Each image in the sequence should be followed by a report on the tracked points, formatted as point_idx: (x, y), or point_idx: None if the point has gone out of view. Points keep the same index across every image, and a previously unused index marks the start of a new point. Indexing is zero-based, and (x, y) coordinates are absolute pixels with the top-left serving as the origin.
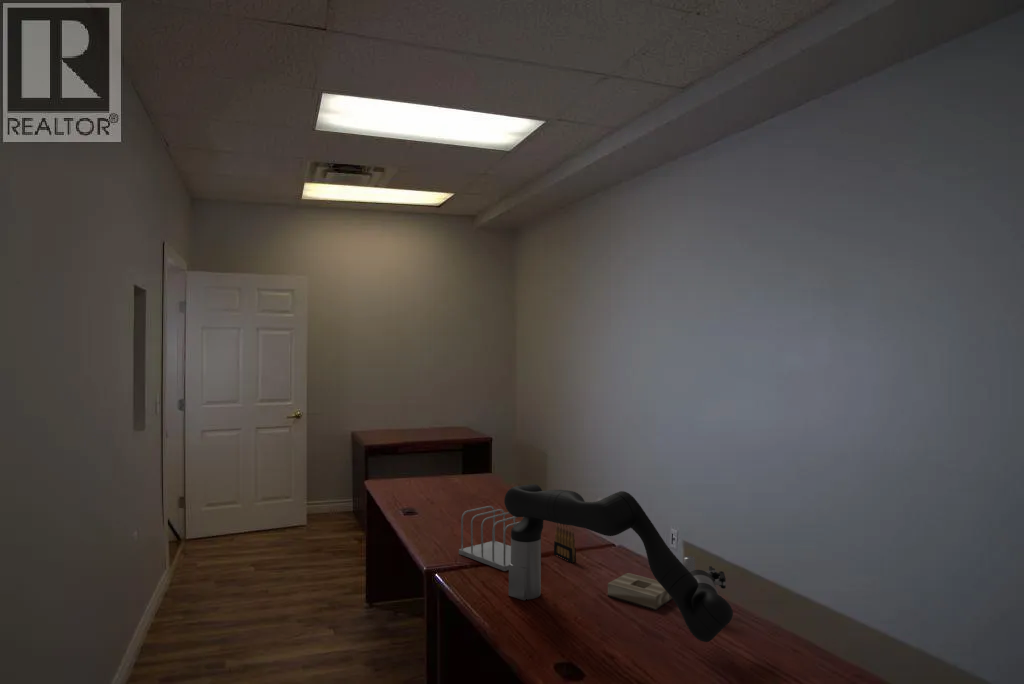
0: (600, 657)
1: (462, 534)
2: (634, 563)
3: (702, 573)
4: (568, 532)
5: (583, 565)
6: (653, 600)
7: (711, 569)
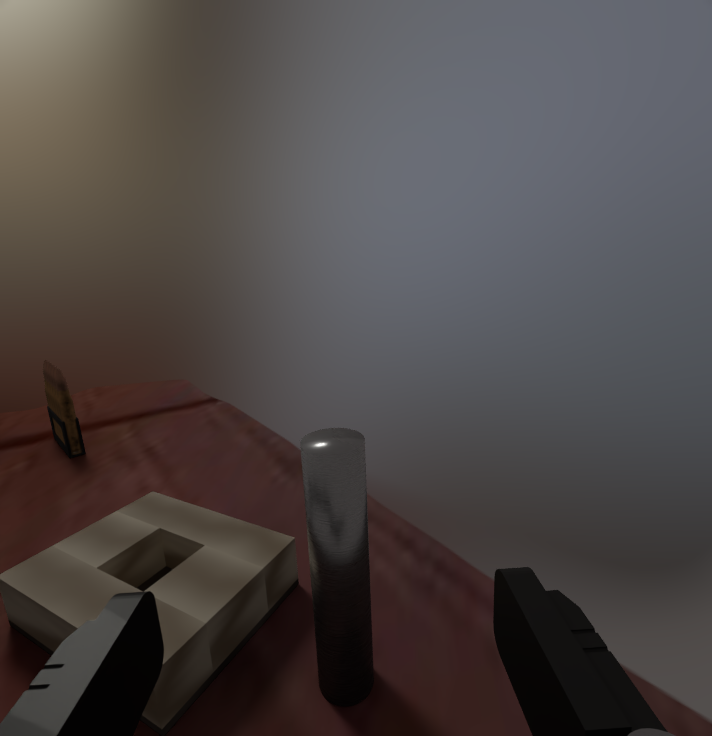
0: None
1: None
2: (239, 438)
3: None
4: (53, 381)
5: (95, 461)
6: None
7: (577, 682)
